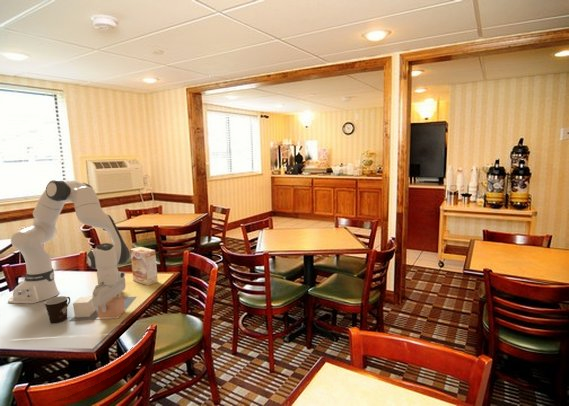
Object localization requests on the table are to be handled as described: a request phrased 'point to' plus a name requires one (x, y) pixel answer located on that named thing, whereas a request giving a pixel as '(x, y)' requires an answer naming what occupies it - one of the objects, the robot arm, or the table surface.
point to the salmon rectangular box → (113, 308)
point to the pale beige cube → (84, 307)
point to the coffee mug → (57, 309)
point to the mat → (96, 317)
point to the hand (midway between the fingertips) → (111, 306)
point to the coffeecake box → (144, 265)
